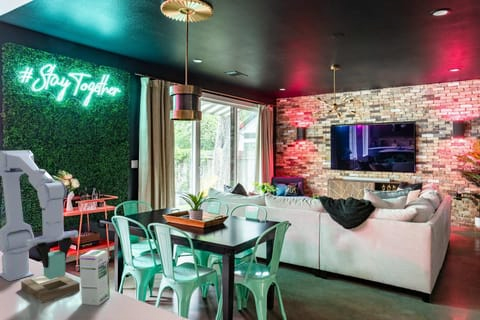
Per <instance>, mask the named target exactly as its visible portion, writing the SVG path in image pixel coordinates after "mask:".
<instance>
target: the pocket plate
mask: <svg viewBox="0 0 480 320" xmlns="http://www.w3.org/2000/svg"><path fill="white" fill-rule="evenodd" d="M20 284H21V285H20V287H21V288H20V289H21V290H22V291H24V292H25V293H26V294H28V295H30V296H31V297H32V298H34V299H35V300H37V301H38V302H40V303H42V304H44V303H47V302H50V301H55V300H57V299H60V298H63V297H65V296H68V295H71V294H75V293H78V292H81V282H78V281H77V280H74V279H73V278H70V277H69V276H66V274H65V275H64V276H61V277H57V278H54V279H51V280H50V279H49V278H47V277H45V276H44V274H42V275H39V276H35V277H32V278H28V279H24V280H21V281H20Z"/></svg>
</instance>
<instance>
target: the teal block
mask: <svg viewBox="0 0 480 320" xmlns="http://www.w3.org/2000/svg"><path fill="white" fill-rule="evenodd" d="M48 262H49V265H48V268H45V267H43V275H44V276H45V277H47V278H49V279H50V280H51V279H54V278H57V277H61V276H64V275H65V276H66V262H65V253H64V252H61V251H60V249H58V250H54V251H49V253H48Z"/></svg>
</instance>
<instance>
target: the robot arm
mask: <svg viewBox="0 0 480 320" xmlns="http://www.w3.org/2000/svg"><path fill="white" fill-rule="evenodd" d="M24 174H26V176H28V182H29V183H30V184H31V186H32V187H33V188H34V189H35V190H36V191H37V193H36V194H37V198H38V200H39V207H40V208H41V217H42V219H41V220H42V235H40V236H37V237H35V235H34V232H33V230H32V226H31V225H30V224H28V223H26V222H25V221H24V214H23V205H22V203H23V202H22V195H21V194H22V193H21V185H20V177H21V176H22V175H24ZM0 177H1V180H2V188H3V198H4V208H5V219H6V220H5V221H6V223H5V224H4V225H3V226H2V227H1V228H0V252H1V253H2V256H1V273H0V277H2V278H3V279H4V280H6V281H8V282H12V281H15V280H19V279H23V278H27V277H30V276H33V275H34V274H35V272H32V271H31V270H30V258H29V257H30V255H29V250H30V249H31V248H33V247H34V249H35V250H36V251H37V253H38V255H39V257H40V260H41V263H42V267H43V268H44V267H45V268H48V265H49V262H48V253H49V252H50V251H49V250H50V246H48V244H50V243H53V242H57V243H58V248H59V249H58V250H59V251H61V252H64V253H65V263H66V261H67V257H68V253H69V250H70V248H71V246H72V245H73V242H74V241H73V238H79V231H78V230H76V229H74V230H69V231H65V230H64V200H65V199H66V197H67V191H68V190H67V186H66V185H65V183H64V181H63V180H62V181H61V180H60V181H59V180H55V179H54V178H53V177H52V176H51V175H50V174H49V172H47V170H45V169H43V168H42V169H41V168H39V167H38V165H37V164H36V163H35V158H34V154H33V152H32V151H31V150H29V149H25V150H22V149H21V150H0Z"/></svg>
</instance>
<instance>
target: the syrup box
mask: <svg viewBox="0 0 480 320" xmlns="http://www.w3.org/2000/svg"><path fill="white" fill-rule="evenodd" d="M109 267H110V266H109V251H108V250H106V249H105V250H104V249H91V250H89V251H87V252H86V253H83V254H81V255H79V275H80V295H81V298H80V299H81V304H82V305H88V306H100V305H101V304H102V303H104V302H105V301H107V299H109V298H110V297H111V294H110V293H111V292H110V271H109Z"/></svg>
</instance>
